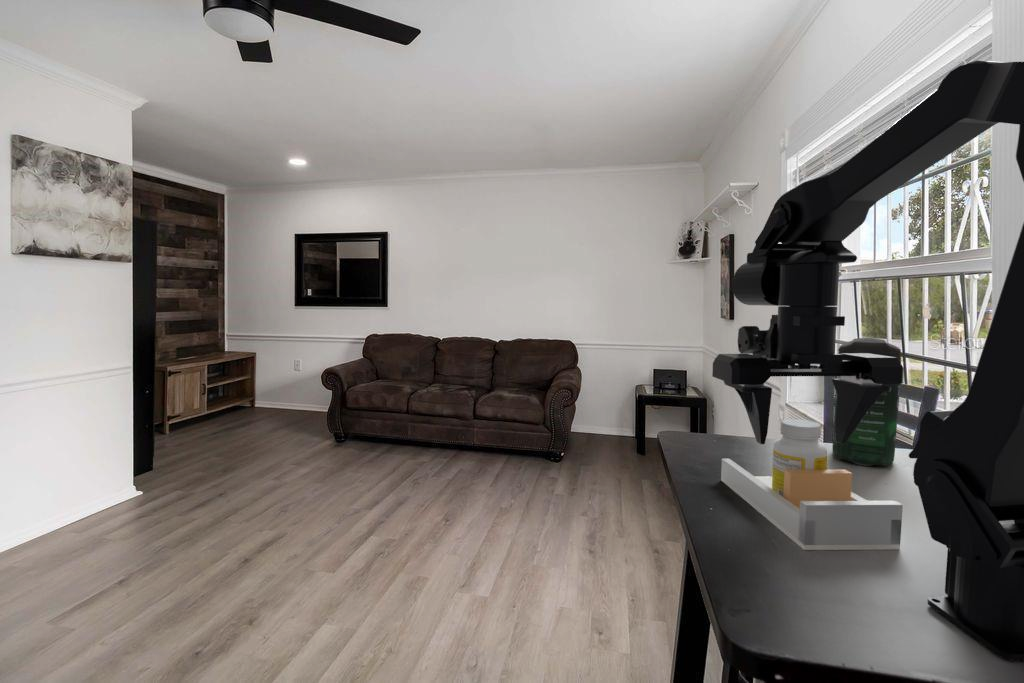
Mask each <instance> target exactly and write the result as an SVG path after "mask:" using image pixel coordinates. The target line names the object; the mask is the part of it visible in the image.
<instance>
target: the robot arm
mask: <svg viewBox="0 0 1024 683" xmlns="http://www.w3.org/2000/svg"><path fill="white" fill-rule="evenodd" d="M999 123H1003V124H1012V125H1018V127H1019V128H1018V133H1017V134H1018V135H1017V143H1016V150H1015V159H1016V162H1017V163H1016V164H1017V165H1018V169H1019V172H1020V175H1021V178H1022V181H1023V183H1024V61H1009V62H1003V61H991V60H978V59H977V60H973V61H970V62H968V63H966V64H961V65H959V66H957V67H955V68H954V69H953V70H951V71H950V72H949V73H948V74H947V75H946V76H945V77H944V78H943V79H942V80H941V82H940V84H939V85H938V87H937V88H936V89H935V90H934V91H933V92H932V93H930V94H929V95H928V96H926V97H925V98H924V99H923V100H922V101H921V102H919V103H918V104H916V105H915V107H913V108H912V109H910V111H908V112H907V113H905V114H904V115H903V116H901V117H900V119H898V120H897V121H896V122H894V123H893V124H892V125H890V127H888V128H887V129H886V130H884V131H883V132H882V133H880V134H879V135H878V136H876V138H874V139H873V140H872V141H871V142H869V143H868V144H866V146H864V147H863V148H862V149H861V150H859V151H858V152H857V153H855V154H854V155H853V156H851V158H850V159H848V160H846V162H844V163H843V164H841V166H839V167H838V168H836V169H835V170H832V171H831V172H830V173H828V174H825V175H821V176H818V177H814V178H813V179H810V180H807V181H803V182H802V183H799V184H798V185H797V186H794V187H793V188H791V189H790V190H788V191H787V192H784V193H783V194H781V196H780V197H779V198H778V199H777V200H776V202H775V203H774V205H773V208H772V210H771V211H770V214H769V216H768V218H767V220H766V222H765V224H764V227H763V229H762V230H761V232H760V233H759V235H758V236H757V237H756V240H755V241H754V244H755V246H754V247H753V250H752V252H748V253H746V254H747V255H746V262H745V263H743V264H742V265H740V266H739V267H738V268H737V270H736V271H735V272H734V275H733V278H732V279H731V290H732V293H733V296H735V299H736V300H738V302H740V303H742V304H743V305H745V306H746V305H747V306H770V307H771V306H774V307H775V306H776V307H777V314H771V318H770V319H769V320H770V321H769V322H770V323H769V327H768V329H766V330H765V329H763V330H761V329H760V328H759V326H758V325H757V326H756V325H753V326H752V325H744V326H741V327H739V328H738V331H737V332H738V334H737V349H738V351H739V353H718V354H717V356H715V358H714V360H713V362H712V377H713V378H716V379H717V380H721V381H723V383H724V385H725V386H728V387H730V388H733V389H734V390H735V391H736V393H737V394H738V396H739V398H740V400H741V401H742V403H743V405H744V408H745V412H746V413H747V416H748V417H747V418H748V420H749V422H750V426H751V428H752V431H753V434H754V437H755V440H756V442H757V443H758V444H759V445H765V443H766V439H767V437H768V436H767V435H768V431H769V421H770V420H769V419H770V413H771V412H770V411H771V402H772V395H773V394H772V393H773V388H772V387H770V386H767V385H765V383H766V382H767V381H768V380H769V379H771V377H837V376H840V379H837V378H831V382H832V384H833V387H834V389H835V393H836V392H837V409H836V424H835V433H836V441H837V442H838V443H841V444H845V443H846V442H847V440H848V439H849V437H850V436H851V434H852V433H853V431H854V430H855V428H856V427H857V425H858V424H859V423H860V421H861V420H862V418H863V417H864V415H865V414H866V413H867V411H868V410H869V409H870V408H871V406H872V405H873V404H874V403H875V402H876V401H877V399H878V398H879V397H880V396H881V395H882V393H883V392H890V391H891V387H890V386H886V385H882V384H900V385H902V384H903V383H904V372H905V368H904V367H903V365H902V362H901V363H900V362H899V360H898V359H897V357H890V356H883V355H876V354H870V353H840V354H838V353H836V343H837V342H836V340H837V339H836V338H837V327H838V326H840V327H841V326H843V327H844V326H845V325H846V324H845V322H846V320H845V319H846V317H845V315H838V299H839V296H838V295H839V282H840V280H839V277H840V264H841V265H842V264H849V263H850V264H851V263H855V262H857V259H858V256H857V254H855V253H854V252H853V251H852V250H849V249H848V248H846V247H845V245H844V243H843V241H844V240H845V239H847V238H848V237H850V235H851V234H852V233H854V232H855V231H856V230H857V229H858V228H860V227H861V225H863V224H864V223H865V221H866V219H867V216H868V214H869V211H870V208H872V207H873V206H874V205H876V204H877V202H879V201H880V200H882V199H883V198H886V196H888V195H889V194H891V193H893V192H895V191H896V190H897V189H899V188H901V187H902V186H903V185H905V184H906V183H908V182H910V181H911V180H913V179H914V178H916V177H917V176H919V175H920V174H922V173H923V172H925V171H926V170H928V169H929V168H931V167H933V166H934V165H935V164H938V162H940V161H942V160H943V159H944V158H946V157H948V156H949V155H951V154H952V153H954V152H956V151H957V150H959V149H960V148H961V147H963V146H964V145H966V144H967V143H969V142H971V141H972V140H974V139H975V138H976V137H978V136H980V135H981V134H983V133H984V132H986V131H988V130H989V129H990V128H992V127H993V126H995V125H996V124H999ZM1021 226H1022V227H1021V229H1020V232H1019V235H1018V239H1017V242H1016V244H1015V248H1014V251H1013V253H1012V257H1011V260H1010V263H1009V266H1008V270H1007V272H1006V276H1005V280H1004V282H1003V285H1002V287H1001V288H1002V289H1001V291H1000V294H999V297H998V301H997V303H996V307H995V311H994V312H993V313H994V314H993V316H992V320H991V322H990V325H989V328H988V332H987V335H986V338H985V341H984V344H983V346H982V347H983V348H982V351H981V353H980V356H979V359H978V363H977V366H976V370H975V371H974V372H975V373H974V375H973V379H972V381H971V384H970V388H969V390H968V394H967V396H966V397H965V399H964V400H963V402H961V403H960V404H959V405H958V406H957V407H956V408H955V409H954V410H939V411H938V410H935V411H925V413H924V415H923V417H922V418H921V420H920V424H919V432H918V433H919V434H918V439H917V442H916V444H915V446H914V448H913V449H912V450H911V451H910V452H909V453H908V458H910V459H915V462H914V465H913V473H912V476H913V483H914V485H915V486H917V488H918V491H919V495H920V496H919V497H920V499H921V504H922V507H923V512H924V514H925V520H926V522H927V527H928V530H929V535H930V537H931V539H932V540H933V541H936V542H938V543H939V544H941V545H944V546H945V547H946V548H947V555H946V567H945V568H946V569H945V570H946V571H945V581H944V582H945V583H944V593H945V595H947V596H929V597H927V605H928V606H929V607H931V609H932V608H933V610H935V611H936V612H937V613H939V614H940V615H942V616H943V617H944V618H946V619H948V620H949V621H950V622H951V623H953V624H954V625H956V626H957V627H959V628H960V629H962V630H963V631H964V632H965V633H967V634H968V635H970V636H971V637H972V638H974V639H975V640H976V641H978V642H980V643H981V644H982V645H984V646H985V647H986V648H988V649H989V650H990V651H991V652H993V653H994V654H995V655H997V656H999V657H1001V658H1003V659H1005V660H1009V659H1014V660H1013V661H1016V660H1015V659H1024V222H1023V224H1022V225H1021ZM1005 521H1006V522H1007V521H1013V522H1014V523H1008V524H1002V523H1001V522H1005Z"/></svg>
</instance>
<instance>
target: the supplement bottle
mask: <svg viewBox="0 0 1024 683" xmlns="http://www.w3.org/2000/svg"><path fill="white" fill-rule="evenodd" d="M780 434H781V435H782V437H779V438H778V439H776V440H775V441H774V443H773V448H772V449H773V450H772V472H771V473H772V474H771V476H772V489H773V490H774V491H775V492H777V493H778V494H780V495H781V496H782V497H783V493H784V470H827V469H828V468H827V465H828V449H827V447H826V446H825V445H824V444H823V443H822V442H820V441H819V439H821V435H822V425H821V424H820V423H818V422H816V421H811V420H806V419H797V418H796V419H795V418H791V419H790V418H789V419H782V420H781V421H780Z"/></svg>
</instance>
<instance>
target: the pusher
mask: <svg viewBox="0 0 1024 683" xmlns="http://www.w3.org/2000/svg"><path fill="white" fill-rule="evenodd" d="M852 478H853V472H850V471H849V470H847V469H844V468H842V469H841V468H840V469H834V468H833V469H830V468H829V469H828V468H827V470H784V493H783V497H784V498H785V499H787V500H788V501H789V502H791V503H792V504H794V505H795V506H796V507H798V508H799V509H800V501H851V492H852V482H853V481H852V480H853V479H852Z"/></svg>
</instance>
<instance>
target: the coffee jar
mask: <svg viewBox="0 0 1024 683" xmlns="http://www.w3.org/2000/svg"><path fill="white" fill-rule="evenodd" d="M837 349H838V350H837V351H838V353H837V354H840V353H870V354H876V355H883V356H890V357H897V359H898V360H899V362H900V363H901V364H902V349H901V348H900V347H898V346H896V345H894V344H892V343H889V342H887V341H886V340H885V339H882V338H876V337H861V338H860V337H858V338H854V339H852V340H850V341H847V342H844V343H841V344H840V345H839V347H838V348H837ZM836 379H840V376H836ZM882 385H886V386H890V387H891V391H890V392H883V393H882V395H881V396H880V397H879V398H878V399H877V401H876V402H875V403H874V404H873V405H872V406H871V408H870V409H869V410H868V411H867V413H866V414H865V415H864V417H863V418H862V420H861V421H860V423H859V424H858V425H857V427H856V428H855V430H854V431H853V433H852V434H851V436H850V437H849V439H848V440H847V442H846V443H845V444H841V443H838V442H837V441H836V433H835V424H836V409H837V392H836V391H835V400H834V416H833V417H834V419H833V430H832V433H833V434H832V453H833V455H834V457H835V458H837V459H840V460H844V461H847V462H852V463H853V464H854V465H855V464H856V465H859V466H865V467H866V466H867V467H872V466H883V467H888V466H891V465H892V464H893V462H894V460H895V456H896V454H895V453H896V444H897V426H898V417H899V409H900V408H899V407H900V391H901V384H882Z"/></svg>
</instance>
